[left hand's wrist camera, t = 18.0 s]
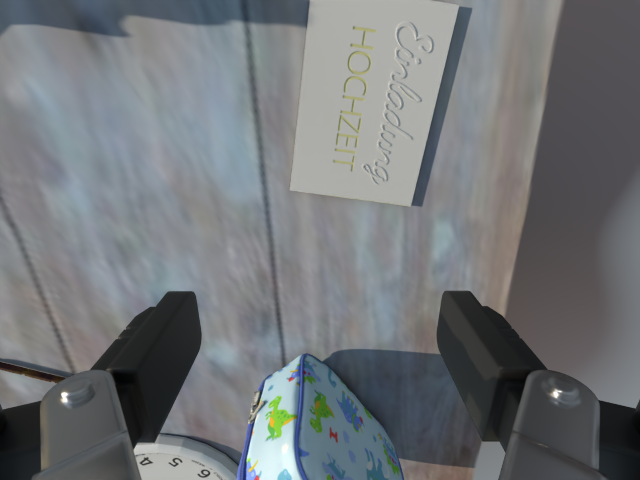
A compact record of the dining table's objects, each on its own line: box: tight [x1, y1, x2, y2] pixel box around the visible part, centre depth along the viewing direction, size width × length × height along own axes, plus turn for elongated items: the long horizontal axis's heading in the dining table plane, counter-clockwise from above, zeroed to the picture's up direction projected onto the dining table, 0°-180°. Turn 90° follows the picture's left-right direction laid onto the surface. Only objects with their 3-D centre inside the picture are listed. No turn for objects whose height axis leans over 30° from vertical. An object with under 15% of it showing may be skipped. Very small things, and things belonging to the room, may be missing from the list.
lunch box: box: [237, 354, 404, 480], centre depth 46 cm, size 26×11×21 cm, turn 37°
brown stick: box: [0, 362, 66, 383], centre depth 52 cm, size 15×1×1 cm, turn 71°
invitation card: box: [290, 0, 459, 206], centre depth 39 cm, size 21×1×15 cm
